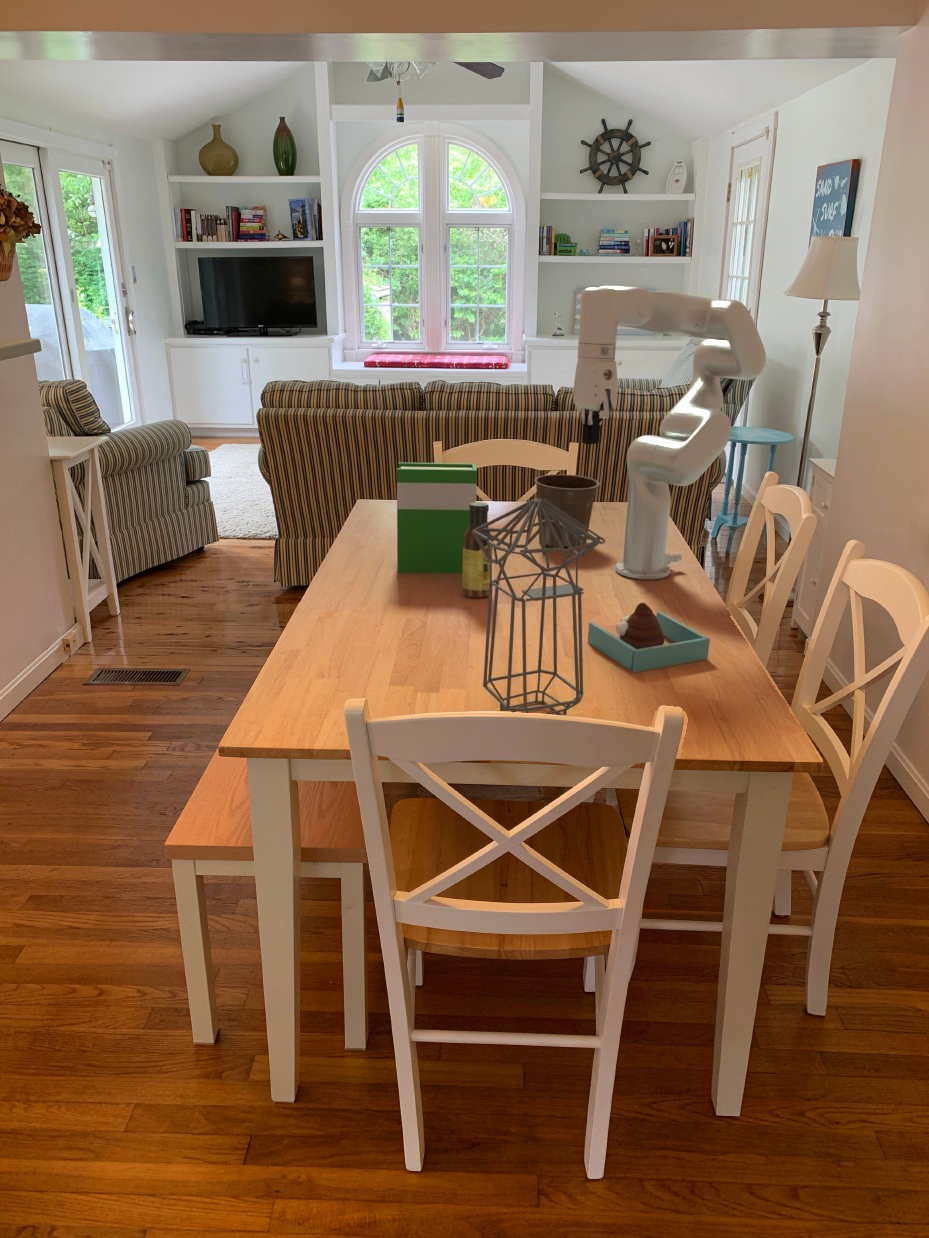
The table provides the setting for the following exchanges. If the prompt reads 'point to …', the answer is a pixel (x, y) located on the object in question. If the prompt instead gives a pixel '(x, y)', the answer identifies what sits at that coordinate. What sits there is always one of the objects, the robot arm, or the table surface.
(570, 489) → the plant pot
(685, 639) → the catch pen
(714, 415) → the robot arm
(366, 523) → the table surface
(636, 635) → the poop emoji
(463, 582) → the sauce bottle
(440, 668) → the table surface
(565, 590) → the mat
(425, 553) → the hardback book
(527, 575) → the geometric lantern
